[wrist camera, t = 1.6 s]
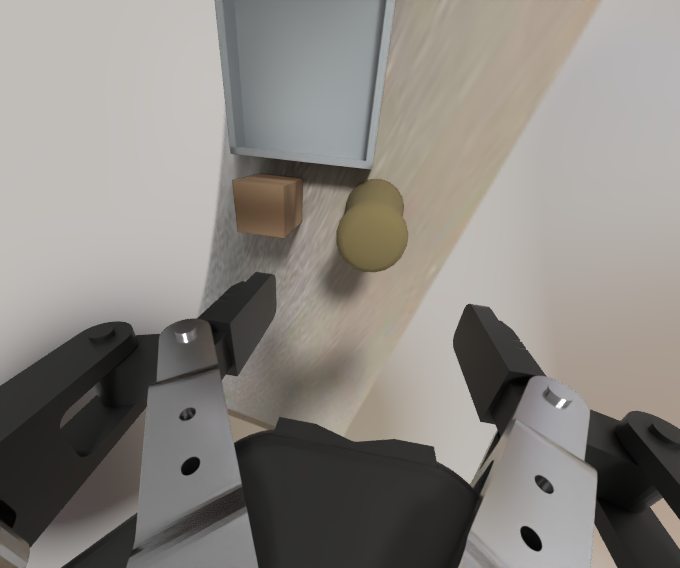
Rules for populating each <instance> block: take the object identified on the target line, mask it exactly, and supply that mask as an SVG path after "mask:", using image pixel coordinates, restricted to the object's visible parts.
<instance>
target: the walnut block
mask: <svg viewBox="0 0 680 568" xmlns="http://www.w3.org/2000/svg"><path fill="white" fill-rule="evenodd" d="M232 184H233V193H234V203H235V212H236V222H237V231H238V232H243V233H250V234H257V235H265V236H272V237H279V238H285V237H286V236H287V235H288V234H289V233H290V232H292V231H293V230H294V229H295V228H296V227H297V226H298V225H299V224H300V223H301V222H302V200H303V178H296V177H288V176H279V175H271V174H262V173H260V174H256V175H252V176H248V177H243V178H239V179H235V180H232Z"/></svg>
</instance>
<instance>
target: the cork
mask: <svg viewBox="0 0 680 568" xmlns="http://www.w3.org/2000/svg"><path fill="white" fill-rule="evenodd" d="M403 209H404V204H403V199H402V196H401V194H400V192H399V191H398V189H397V188H396V187H395V186H394V185H392V184H391V183H390V182H387V181H384V180H382V179H370V180H367V181H364V182H362V183H360V184H359V185H358V186H356V187H355V188H354V189H353V191H352V192H351V193H350V195H349V197H348V200H347V203H346V213H345V215H344V216H343V217H342V219H341V220H340V223H339V226H338V229H337V245H338V248H339V251H340V254H341V255H342V257H343V258H344V259H345V261H346V262H347V263H348V264H350V265H351V266H352V267H354V268H355V269H358V270H361V271H364V272H378V271H382V270H386V269H387V268H389V267H391V266H393V265H394V264H395V263H396V262H397V261H398V260H399V259H400V258H401V257H402V255H403V252H404V250H405V248H406V246H407V241H408V231H407V226H406V222H405V220H404V219H403V217H402V216H403Z"/></svg>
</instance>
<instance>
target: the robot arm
mask: <svg viewBox="0 0 680 568" xmlns="http://www.w3.org/2000/svg"><path fill="white" fill-rule="evenodd" d="M275 312H276V279H275V276H274V275H273V274H267V273H260V272H255V273H254V274H253V275H252V276H251V277H250V278H249V279H248V280H247V281H246V282H244V281H242V282H240V283H238V284H235V285H233V286H231V287H230V288H229V289H228V290H227V291H226V292H225V293H224V294H223V295H222V296H221V297H220V298H219V299H218V300H216V301H215V302H214V303H213V304H212V305H211V306H210V307H209V308H208V309H207V310H206V311H205V312H204V313H202V314H201V315H200V316H199V317H198V318H197V319H185V320H181V321H178V322H175V323H173V324H171V325H169V326H168V327H166V328H165V329H164V330H163V331H162V332H161V334H151V335H135V333H134V331H133V328H132V326H131V325H130V324H129V323H126V322H108V323H103V324H99V325H96V326H93V327H91V328H89V329H86V330H84V331H83V332H81V333H79V334H78V335H76V336H75V337H73V338H72V339H70V340H69V341H67V342H66V343H64V344H63V345H61V346H60V347H58V348H57V349H55V350H54V351H52V352H51V353H49V354H48V355H46V356H45V357H43V358H42V359H40V360H39V361H37V362H36V363H34V364H33V365H31V366H30V367H28V368H27V369H25V370H24V371H22V372H21V373H19V374H18V375H16V376H15V377H13V378H12V379H10V380H9V381H7V382H6V383H4V384H2V385H1V386H0V568H26V565H27V563H28V559H29V554H30V547H31V546H32V545H33V543H34V542H35V541H36V540H37V539H38V537H39V536H40V535H41V534H42V533H43V532H44V530H45V529H46V528H47V527H48V525H49V524H50V523H51V522H52V520H53V519H54V518H55V517H56V516H57V515H58V513H59V512H60V511H61V510H62V509H63V507H64V506H65V505H66V504H67V502H68V501H69V500H70V499H71V497H72V496H73V495H74V494H75V493H76V492H77V490H78V489H79V488H80V486H81V485H82V484H83V483H84V482H85V481H86V479H87V478H88V477H89V476H90V475H91V473H92V472H93V471H94V470H95V469H96V467H97V466H98V465H99V464H100V462H101V461H102V460H103V459H104V458H105V457H106V455H107V454H108V453H109V452H110V450H111V449H112V448H113V447H114V446H115V444H116V443H117V442H118V441H119V440H120V438H121V437H122V436H123V435H124V434H125V432H126V431H127V430H128V429H129V427H130V426H131V425H132V424H133V423H134V421H135V420H136V419H137V418H138V417H139V415H140V414H141V413H142V412H143V411H144V409H145V408H146V407H147V411H146V421H145V433H144V444H143V445H144V446H143V456H142V467H141V480H140V490H139V503H138V512H137V513H136V514H135V515H133V516H132V517H130V518H129V519H128V520H126V521H125V522H123V523H122V524H121V525H119V526H118V527H117V528H115V529H114V530H112V531H111V532H110V533H108V534H107V535H105V536H104V537H103V538H101V539H100V540H99V541H97V542H96V543H95V544H93V545H92V546H90V547H89V548H88V549H86V550H85V551H84V552H82V553H81V554H79V555H78V556H77V557H75V558H74V559H72V560H71V561H70V562H68V563H67V564H66V565H64V566H63V567H61V568H591V560H592V546H593V531H594V524H595V526H596V527H597V529H598V531H599V533H600V535H601V537H602V539H603V541H604V543H605V545H606V547H607V548H608V550H609V552H610V554H611V556H612V558H613V560H614V562H615V564H616V566H617V567H618V568H680V549H679V548H678V546H677V545H676V543H675V542H674V541H673V539H672V538H671V536H670V535H669V534H668V532H667V531H666V529H665V528H664V527H663V525H662V524H661V522H660V521H659V519H658V518H657V517H656V515H655V514H654V512H653V511H652V509H651V508H650V506H652V505H653V504H655V503H656V502H657V501H659V500H660V499H662V498H664V499H665V501H666V502H667V503H668V505H669V506H670V507H671V509H672V510H673V511H674V513H675V514H676V515H677V517H678V518H679V519H680V429H679V428H677V427H675V426H674V425H672V424H670V423H668V422H666V421H664V420H663V419H661V418H659V417H656V416H654V415H651V414H648V413H645V412H640V411H632V412H629V413H628V414H627V415H626V416H625V417H624V418H623V419H622V420H621V421H619V420H616V419H613V418H611V417H608V416H606V415H603V414H601V413H598V412H595V411H593V410H590V409H589V406H588V405H587V403H586V402H585V400H584V399H583V398H582V397H581V396H580V395H579V394H578V393H577V392H576V391H574V390H573V389H572V388H570V387H569V386H567V385H565V384H563V383H562V382H560V381H557V380H555V379H553V378H550V377H547V376H546V375H545V374H544V372H543V371H542V370H541V368H540V367H539V365H538V364H537V363H536V361H535V360H534V359H533V357H532V356H531V354H530V353H529V352H528V350H526V348H525V346H524V345H523V344H522V342H520V339H519V338H518V336H517V335H516V334H515V332H514V331H513V330H512V329H511V328H510V327H508V326H507V325H506V324H504V323H503V322H502V321H499V320H498V319H497V317H496V316H495V314H494V313H493V311H492V310H491V309H490V308H489V307H486V306H479V305H473V304H468V305H466V307H465V309H464V311H463V314H462V316H461V319H460V321H459V324H458V326H457V329H456V331H455V334H454V339H453V347H454V351H455V353H456V356H457V358H458V361H459V364H460V367H461V370H462V372H463V375H464V378H465V381H466V383H467V386H468V389H469V392H470V394H471V397H472V400H473V403H474V405H475V408H476V411H477V414H478V416H479V419H480V422H486V423H491V424H495V425H496V427H497V429H498V430H497V432H496V433H495V435H494V436H493V438H492V440H491V442H490V445H489V447H488V449H487V451H486V453H485V455H484V457H483V460H482V462H481V463H480V466H479V468H478V470H477V472H476V474H475V476H474V478H473V480H472V482H471V484H470V485H469V484H468V483H467V482H466V481H465V480H464V479H463V478H461V477H460V476H459V475H458V474H456V473H455V472H454V471H452V470H451V469H449V468H447V467H446V466H444V465H442V464H440V463H439V462H437V461H436V456H435V451H434V447H432V446H428V445H422V444H417V443H412V442H407V441H401V440H396V439H390V440H376V441H363V442H353V441H351V440H348V439H346V438H344V437H342V436H340V435H338V434H336V433H334V432H332V431H330V430H327V429H325V428H323V427H321V426H319V425H317V424H313V423H308V422H303V421H297V420H292V419H287V418H282V417H279V420H278V423H277V425H276V428H275V429H274V430H266V431H261V432H258V433H255V434H251V435H249V436H247V437H244V438H242V439H240V440H238V441H237V442H235V443H234V442H233V437H232V432H231V426H230V421H229V416H228V411H227V406H226V401H225V396H224V391H223V386H222V379H223V378H224V376H225V375H226V374H227V375H233V376H238V375H239V373H240V372H241V370H242V368H243V367H244V365H245V364H246V362H247V360H248V359H249V357H250V355H251V354H252V352H253V351H254V349H255V347H256V346H257V344H258V343H259V341H260V339H261V338H262V336H263V335H264V333H265V331H266V330H267V328H268V327H269V325H270V323H271V322H272V320H273V318H274V316H275ZM92 387H93V388H94V390H95V392H96V393H97V395H96V396H95V397H94V398H93V399H92V400H91V401H90V402H89V403H88V404H87V405H86V406H84V408H82V409H81V410H80V411H79V412H78V413H77V414H76V415H75V416H74V417H73V418H72V419H71V420H70V421H68V422H67V423H66V424H65V425H64V426H63V427H62V428H61V429H60V422H61V419H62V417H63V415H64V414H65V412H66V411H67V410H68V409H69V408H70V407H71V406H72V405H73V404H74V403H75V402H77V401H78V400H79V399H80V398H81V397H82V396H83V395H84V394H85V393H87V392H88V391H89V390H90V389H91V388H92Z"/></svg>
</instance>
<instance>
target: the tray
mask: <svg viewBox="0 0 680 568" xmlns="http://www.w3.org/2000/svg"><path fill="white" fill-rule="evenodd" d="M395 4H396V0H215V8H216V18H217V27H218V37H219V47H220V56H221V66H222V76H223V85H224V95H225V104H226V114H227V124H228V133H229V143H230V152H231V154H238V155H247V156H256V157H265V158H274V159H283V160H292V161H301V162H310V163H318V164H327V165H336V166H345V167H354V168H363V169H372V168H373V161H374V154H375V146H376V139H377V132H378V125H379V118H380V111H381V104H382V96H383V89H384V82H385V75H386V68H387V61H388V54H389V46H390V39H391V32H392V25H393V18H394V11H395Z"/></svg>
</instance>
